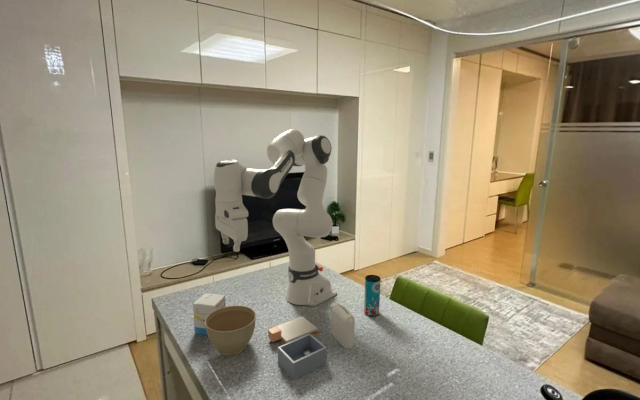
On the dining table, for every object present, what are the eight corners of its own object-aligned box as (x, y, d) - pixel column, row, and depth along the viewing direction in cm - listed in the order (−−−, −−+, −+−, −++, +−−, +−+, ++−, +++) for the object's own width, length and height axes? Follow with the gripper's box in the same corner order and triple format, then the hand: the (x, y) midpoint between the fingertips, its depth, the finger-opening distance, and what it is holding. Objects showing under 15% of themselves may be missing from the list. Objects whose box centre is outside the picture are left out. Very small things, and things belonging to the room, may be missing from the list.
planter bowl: (264, 336, 117) (263, 307, 115) (244, 366, 102) (243, 334, 100) (221, 330, 120) (220, 302, 118) (196, 359, 105) (194, 328, 103)
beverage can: (370, 318, 129) (372, 282, 126) (360, 311, 134) (362, 276, 131) (382, 314, 132) (383, 278, 129) (372, 307, 137) (373, 273, 134)
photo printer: (330, 334, 118) (330, 302, 116) (340, 331, 120) (341, 299, 118) (344, 351, 109) (345, 316, 107) (355, 347, 111) (356, 313, 109)
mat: (302, 319, 127) (302, 318, 127) (321, 334, 118) (321, 333, 118) (269, 332, 119) (269, 331, 119) (287, 349, 110) (287, 348, 110)
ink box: (216, 336, 117) (214, 306, 114) (194, 333, 118) (191, 303, 116) (227, 323, 125) (225, 294, 123) (206, 320, 127) (204, 292, 124)
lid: (302, 320, 126) (301, 310, 125) (317, 332, 118) (317, 322, 118) (263, 335, 116) (263, 325, 116) (277, 349, 109) (277, 338, 108)
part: (308, 352, 107) (308, 347, 107) (313, 357, 105) (313, 351, 105) (301, 356, 106) (301, 350, 105) (306, 360, 104) (306, 355, 103)
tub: (309, 349, 110) (309, 333, 109) (326, 365, 103) (326, 347, 102) (277, 364, 103) (277, 347, 102) (293, 381, 96) (293, 363, 94)
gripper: (209, 204, 119) (211, 241, 122) (231, 215, 103) (233, 257, 106) (226, 202, 123) (228, 238, 126) (250, 212, 107) (252, 253, 110)
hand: (231, 247), depth 116 cm, fingers open, 8 cm apart
